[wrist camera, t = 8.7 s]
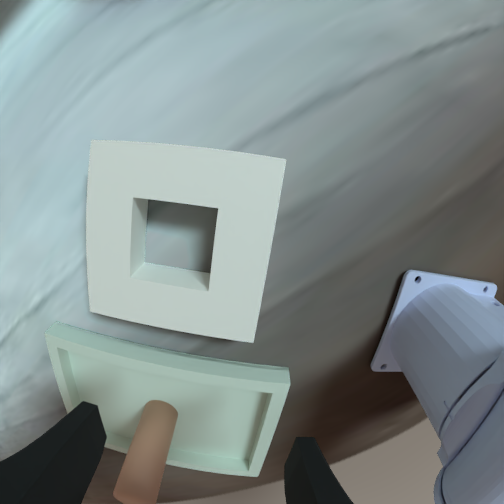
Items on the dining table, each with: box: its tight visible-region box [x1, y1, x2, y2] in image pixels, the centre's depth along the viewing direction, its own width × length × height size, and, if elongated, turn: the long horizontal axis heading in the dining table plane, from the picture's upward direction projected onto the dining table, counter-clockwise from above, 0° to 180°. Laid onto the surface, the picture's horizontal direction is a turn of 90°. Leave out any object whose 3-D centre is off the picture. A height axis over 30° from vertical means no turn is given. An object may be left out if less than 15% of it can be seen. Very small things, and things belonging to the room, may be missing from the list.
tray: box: [45, 321, 290, 477], centre depth 21 cm, size 18×13×2 cm
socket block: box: [86, 140, 286, 343], centre depth 16 cm, size 10×10×2 cm
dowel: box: [113, 400, 178, 504], centre depth 17 cm, size 3×3×9 cm
